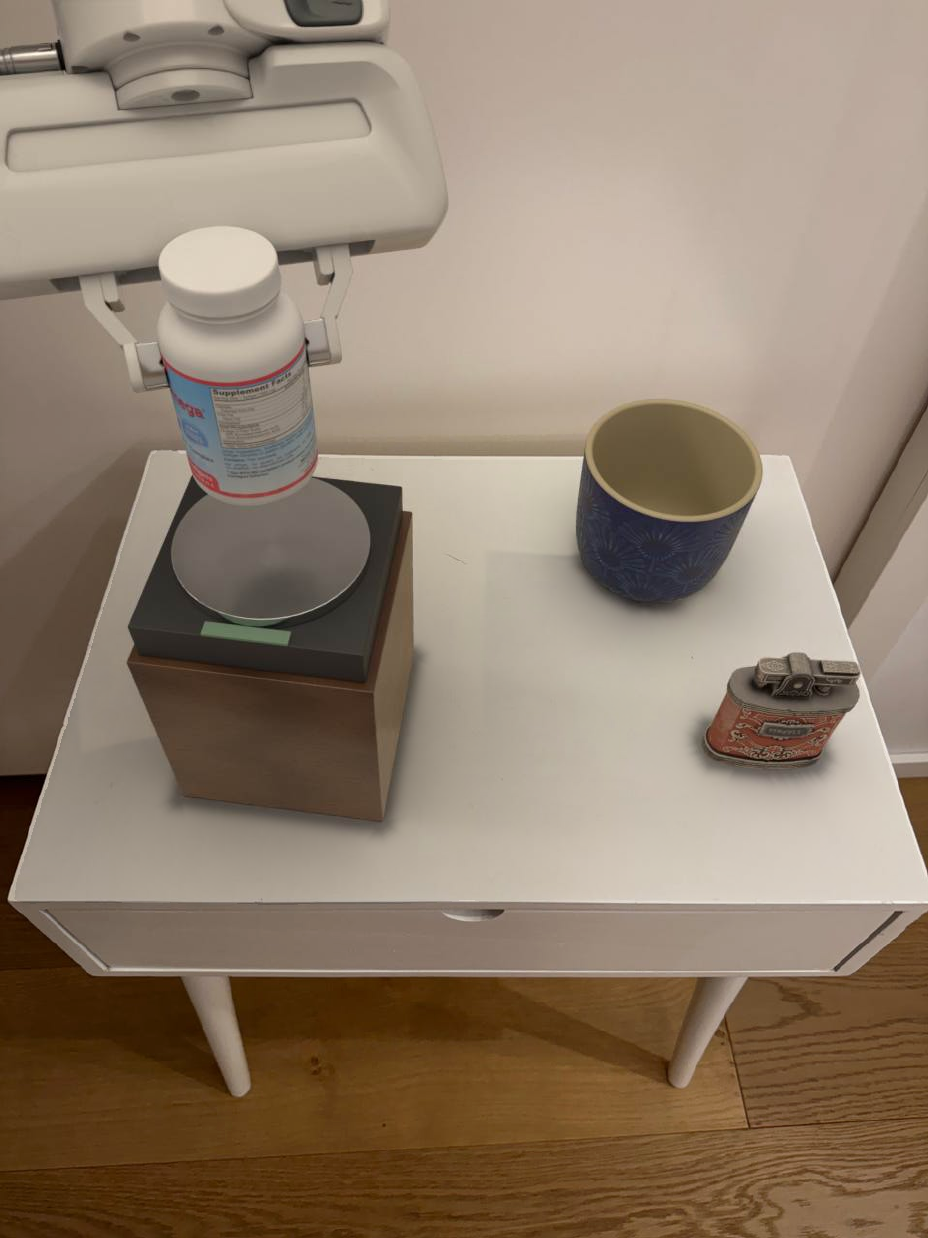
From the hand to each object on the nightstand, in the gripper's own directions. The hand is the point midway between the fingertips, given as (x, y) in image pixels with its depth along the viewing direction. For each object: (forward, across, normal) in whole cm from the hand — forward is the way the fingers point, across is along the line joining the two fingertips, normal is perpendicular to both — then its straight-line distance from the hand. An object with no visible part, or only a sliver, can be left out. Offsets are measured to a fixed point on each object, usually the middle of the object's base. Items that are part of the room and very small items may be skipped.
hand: (241, 376), depth 41 cm
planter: (+15, +28, +27) cm, 42 cm away
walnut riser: (+20, 0, +21) cm, 29 cm away
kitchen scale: (+10, 0, +11) cm, 15 cm away
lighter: (+28, +30, +14) cm, 43 cm away
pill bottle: (+4, 0, +5) cm, 6 cm away
